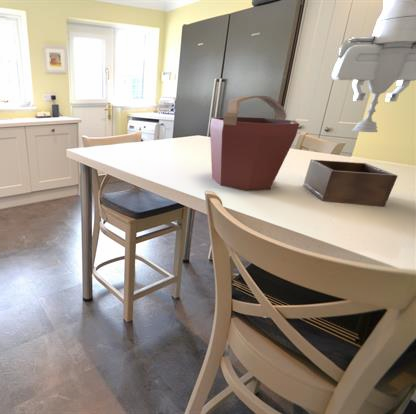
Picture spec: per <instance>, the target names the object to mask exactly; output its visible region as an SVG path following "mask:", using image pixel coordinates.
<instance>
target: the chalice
mask: <svg viewBox="0 0 416 414" xmlns="http://www.w3.org/2000/svg"><path fill="white" fill-rule="evenodd" d="M411 50H412V49H411V48H397V49H384V50H379V51H380V54H379V57H378V65H377V68H376V71H375V79H374V80H367V83H368V88H369V92H370V93H371V94H373V98H372V100H371V101H370V102H369V104H370V107H369V108H368V109H367V110H366V112H367V116H366V117H365V118H364V120H360V121H359V122H357V124H355V126H354V128H352V129H351V131H354V132H360V133H378V126H377V122H376V121H373V115H374V113H375V112H377V110H376V106H377V105H378V104H379V98H380V95H381V94H384V93H386V92H387V91H388V90H389V89H390V88H391V87H392V86H393V84H394V83H395V82H397V81H396V79H397V78H398V76H399V75H400V74H401V72H402V69H403V66H404V64H405V61H406V58H407V55H408V54H409V53H410V52H411Z"/></svg>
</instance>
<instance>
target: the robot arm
mask: <svg viewBox="0 0 416 414" xmlns="http://www.w3.org/2000/svg"><path fill="white" fill-rule="evenodd" d="M397 48H411V49H412V50H411V52H410V53H409V54H408V55H407V58H406V61H405V64H404V66H403V69H402V72H401V74H400V75H399V76H398V78H397V79H396V81H395V82H396V84H395V86H396V88H395V89H394V90H393V91H392V92H391V93H386V97H385V99H384V101H385V102H397V101H398V98H399V96H400V95H401V93H402V92H403V91H405V90H406V89H407V88H408V87H409V86H410V83H411V82H416V0H383V1H382V11H381V13H380V15H379V17H378V18H377V20H376V22H375V25H374V28H373V32H372V35H371V36H362V37H360V36H352V37H350V38H349V39H346V40H345V41H343V42H342V43H341V44H340V47H339V51H338V58H337V60H336V62H335V64H334V67H333V70H332V73H331V78H332V80H333V81H352V83H351V87H352V90H353V93H354V94H353V97H352V101H353V102H362V101H364V100H365V96H366V94H367V93H366V92H362V91H363V90H362V87H361V86H364V84H365V81H368V80H374V79H375V71H376V68H377V65H378V57H379V54H380V51H379V50H384V49H397Z"/></svg>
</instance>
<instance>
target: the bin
mask: <svg viewBox="0 0 416 414" xmlns="http://www.w3.org/2000/svg"><path fill="white" fill-rule="evenodd" d="M397 178H398V175H397V174H394V173H392V172H389V171H387V170H384V169H381V168H379V167H377V166H375V165H372V164H369V163H367V162H357V161H356V162H355V161H342V160H341V161H338V160H325V159H310V160H309V164H308V167H307V171H306V176H305V178H304V180H303V187H304V188H306V189H307V190H308V191H309V192H311V193H312V195H315V197H317V198H318V199H319V200H321V201H322V202H330V203H342V204H352V205H361V206H363V205H364V206H373V207H386V205H387V202H388V200H389V198H390V195H391V193H392V190H393V188H394V186H395V183H396V181H397Z"/></svg>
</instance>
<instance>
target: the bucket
mask: <svg viewBox="0 0 416 414" xmlns="http://www.w3.org/2000/svg"><path fill="white" fill-rule="evenodd" d="M251 99H260V100H262V101H263V102H264V103H266V104H267V105H268V106H269V107H271V108H272V109H273V111H274V113H275V118H271V117H254V116H253V117H252V116H238V114H239V113H240V106H241V105H240V104H241V103H242V102H243V101H247V100H251ZM227 103H228V104H227V111H226V112H225V113H224V115H223V116H217V117H211V119H210V125H209V135H210V136H209V140H210V158H211V160H210V161H211V178H212V180H214V181H215V182H216V183H217V184H218V185H219V186H222V187H228V188H232V189H238V190H242V191H247V192H248V191H264V190H266V191H267V190H271V188H272V186H273V184H274V182H275V180H276V178H277V176H278V174H279V173H280V169H281V167H282V166H283V163H284V161H285V160H286V157H287V155H288V153H289V151H290V149H291V147H292V145H293V143H294V141H295V139H296V137H297V134H298V130H299V126H300V123H299V122H298V121H296V120H291V119H287V113H286V110H285V107H284V106H283V105H282V104H280V103H279V102H278V101H277V100H275V98H273V97H271V96H266V95H243V96H237V97H234V98H231V99H229V100H228V102H227Z"/></svg>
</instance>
